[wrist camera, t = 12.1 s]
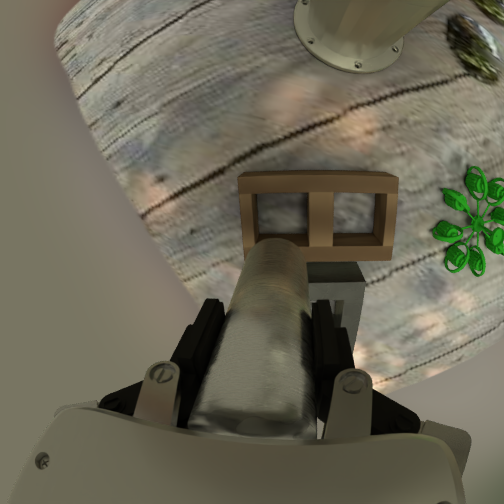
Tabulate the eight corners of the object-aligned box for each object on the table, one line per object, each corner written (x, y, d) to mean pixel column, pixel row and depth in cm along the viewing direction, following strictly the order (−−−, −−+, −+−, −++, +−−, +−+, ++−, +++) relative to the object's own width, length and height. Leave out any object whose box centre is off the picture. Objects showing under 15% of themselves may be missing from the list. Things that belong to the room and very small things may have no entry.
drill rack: (244, 172, 29) (237, 177, 26) (385, 172, 27) (398, 177, 23) (249, 247, 33) (244, 262, 29) (380, 246, 30) (391, 260, 27)
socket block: (275, 262, 33) (272, 283, 29) (356, 261, 32) (365, 281, 27) (277, 365, 40) (275, 389, 36) (340, 364, 39) (343, 388, 34)
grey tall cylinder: (242, 238, 17) (172, 396, 6) (306, 237, 17) (325, 407, 6) (247, 292, 19) (202, 453, 8) (305, 292, 18) (310, 461, 7)
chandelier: (406, 235, 30) (429, 258, 23) (462, 140, 23) (495, 144, 17) (466, 285, 31) (488, 311, 24) (515, 207, 25) (543, 222, 18)
